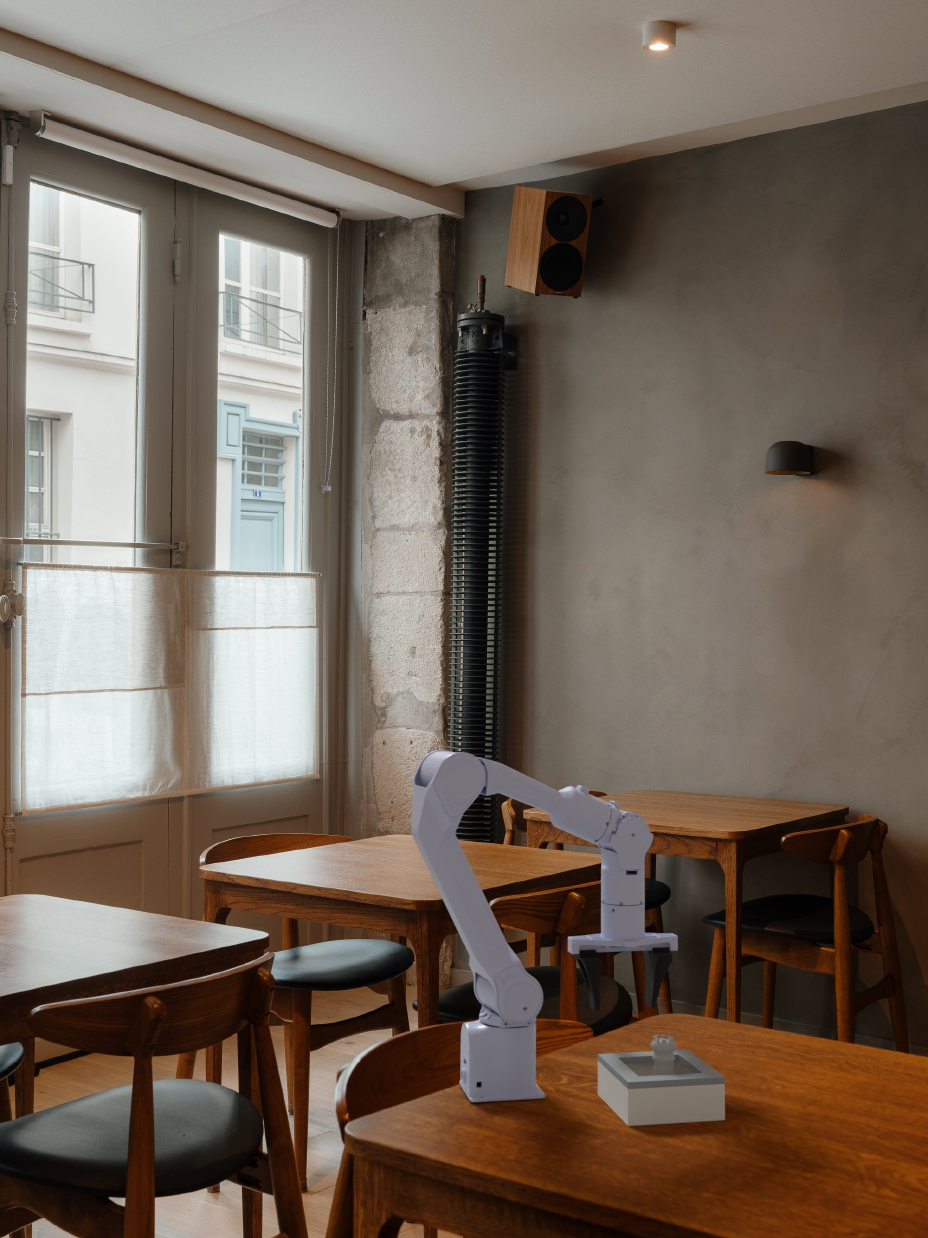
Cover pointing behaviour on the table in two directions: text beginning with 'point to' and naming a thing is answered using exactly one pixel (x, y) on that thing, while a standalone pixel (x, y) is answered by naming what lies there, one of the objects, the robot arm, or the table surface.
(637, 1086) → the piece box
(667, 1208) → the table surface
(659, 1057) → the rook chess piece
